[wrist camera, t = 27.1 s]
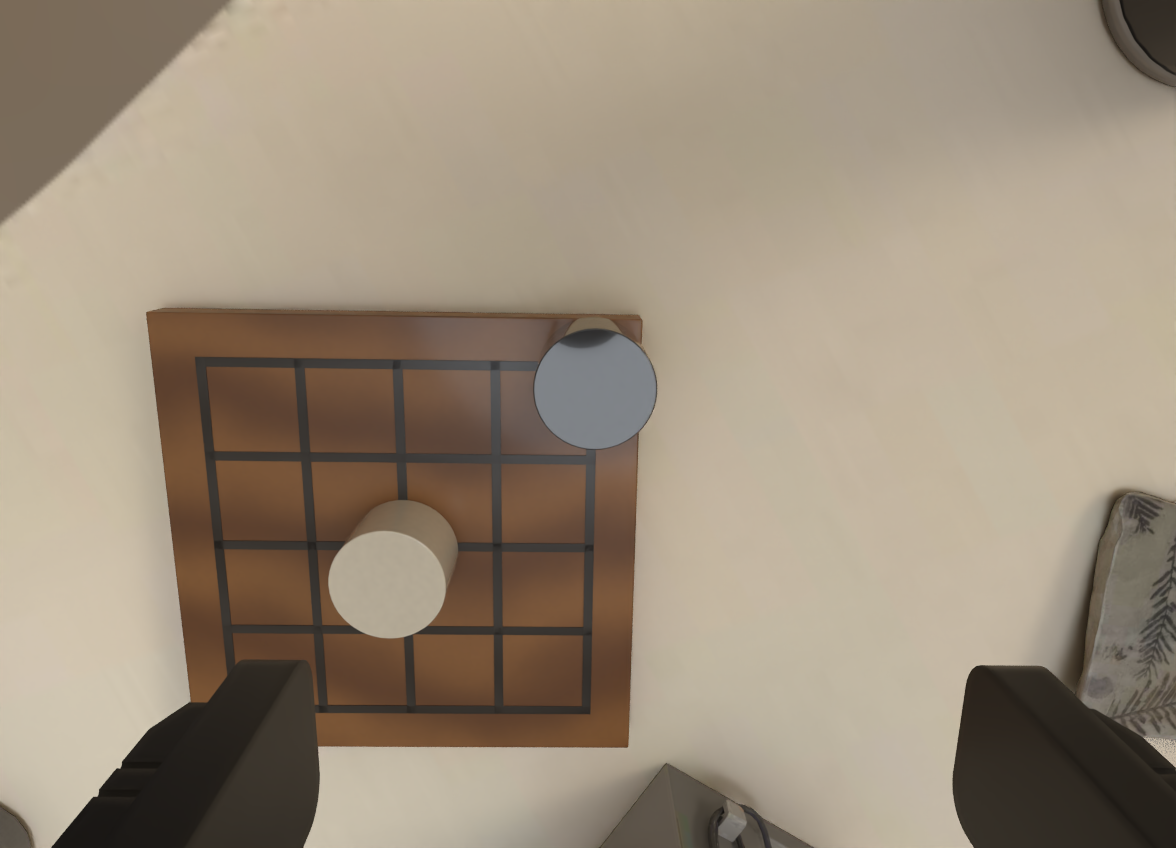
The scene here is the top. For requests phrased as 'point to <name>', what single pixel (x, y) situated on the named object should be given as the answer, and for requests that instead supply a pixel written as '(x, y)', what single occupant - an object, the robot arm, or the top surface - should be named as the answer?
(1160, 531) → the fossil rock
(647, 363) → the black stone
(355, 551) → the ivory stone
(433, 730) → the board
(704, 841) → the portable television
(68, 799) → the top surface
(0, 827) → the flask
